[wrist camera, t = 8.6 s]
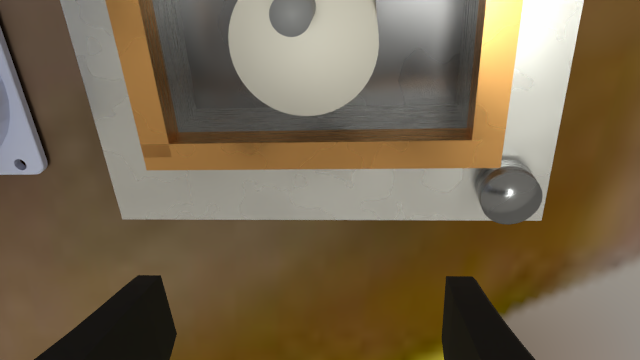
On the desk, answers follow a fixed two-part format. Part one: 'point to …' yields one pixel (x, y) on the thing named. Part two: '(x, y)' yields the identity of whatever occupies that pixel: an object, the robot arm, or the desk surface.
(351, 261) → the desk surface
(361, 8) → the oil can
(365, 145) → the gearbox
